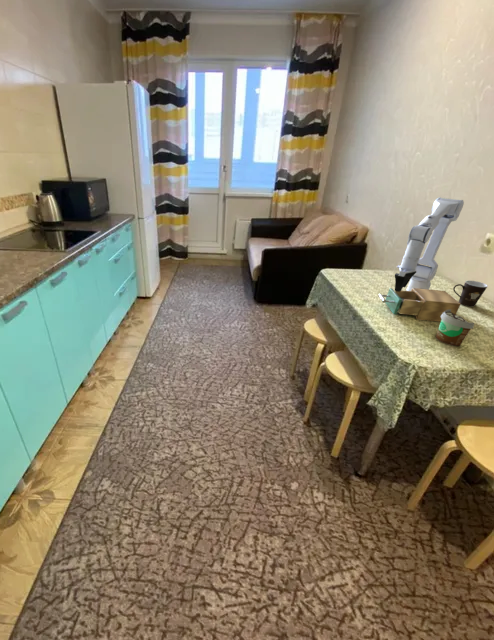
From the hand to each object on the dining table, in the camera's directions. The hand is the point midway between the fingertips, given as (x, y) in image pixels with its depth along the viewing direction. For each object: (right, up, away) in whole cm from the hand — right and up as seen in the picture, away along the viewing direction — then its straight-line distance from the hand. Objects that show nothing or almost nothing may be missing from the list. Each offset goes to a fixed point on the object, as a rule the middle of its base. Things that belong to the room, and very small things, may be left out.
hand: (399, 289), depth 140 cm
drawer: (+2, -8, +4) cm, 9 cm away
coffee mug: (+39, -4, +16) cm, 43 cm away
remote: (+3, -7, +4) cm, 9 cm away
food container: (+6, -23, -17) cm, 29 cm away
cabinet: (+14, -10, +3) cm, 18 cm away
